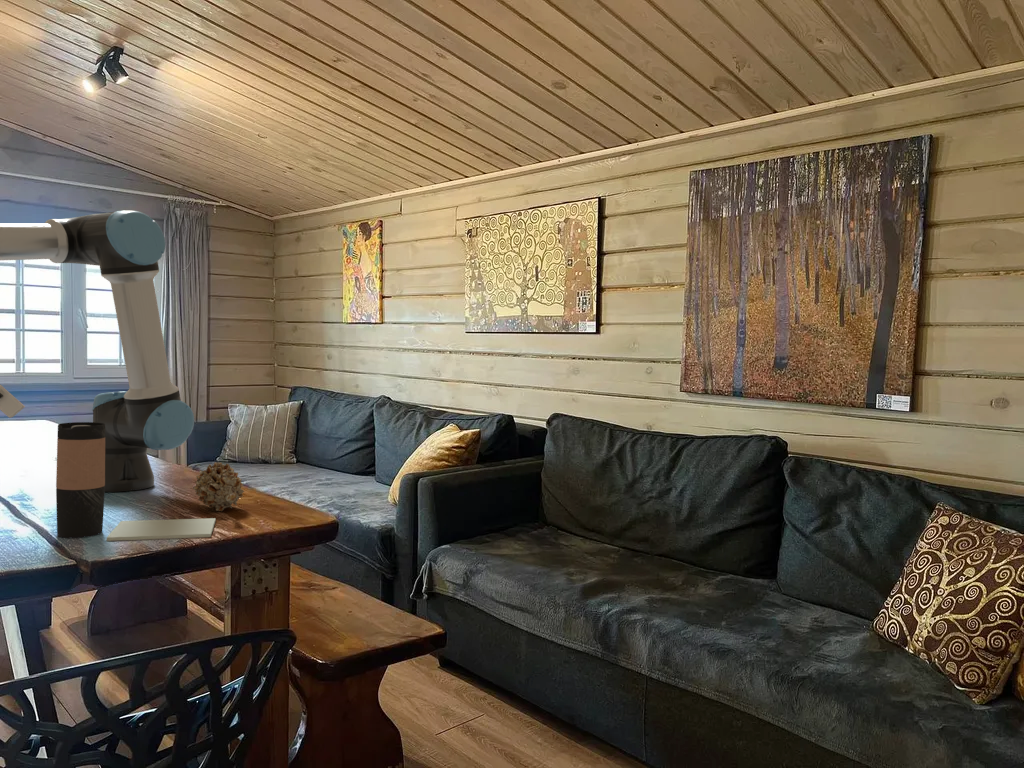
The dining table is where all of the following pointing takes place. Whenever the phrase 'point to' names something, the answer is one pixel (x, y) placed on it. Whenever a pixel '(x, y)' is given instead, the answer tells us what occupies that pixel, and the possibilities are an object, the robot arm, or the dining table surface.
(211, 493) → the pine cone
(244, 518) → the dining table surface
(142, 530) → the mug mat
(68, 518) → the travel mug
